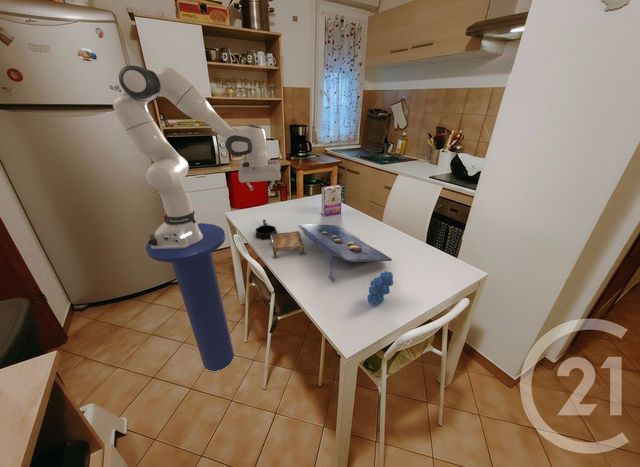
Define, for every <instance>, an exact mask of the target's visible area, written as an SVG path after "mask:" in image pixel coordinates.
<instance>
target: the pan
mask: <svg viewBox="0 0 640 467" xmlns="http://www.w3.org/2000/svg"><path fill="white" fill-rule="evenodd" d="M271 234H278V233H277V227H276V226H274V225H270V224H267V219H265V218H264V219H263V220H262V225H260V226H258V227H257V228H255V236H256V238H257V239H259V240H263V241H264V240H271V238H270V235H271ZM272 236H273V235H272Z"/></svg>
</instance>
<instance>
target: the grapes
mask: <svg viewBox="0 0 640 467" xmlns="http://www.w3.org/2000/svg"><path fill="white" fill-rule="evenodd" d="M379 275H380V276H377V277H375V278H373V280H371V281H370V286H369V287H368V294H367V298H366V299H367V300H366V301H367V302H368V303H370V305H371V306H377V305H378V304H379V303H381V302H384V300H385V296H386V295H388V294H390V292H391V290H390V287H392V286H393V285H394V280H393V279H394V276H393V272H391V271H386V270H384V271H382V272H381V273H379Z"/></svg>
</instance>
